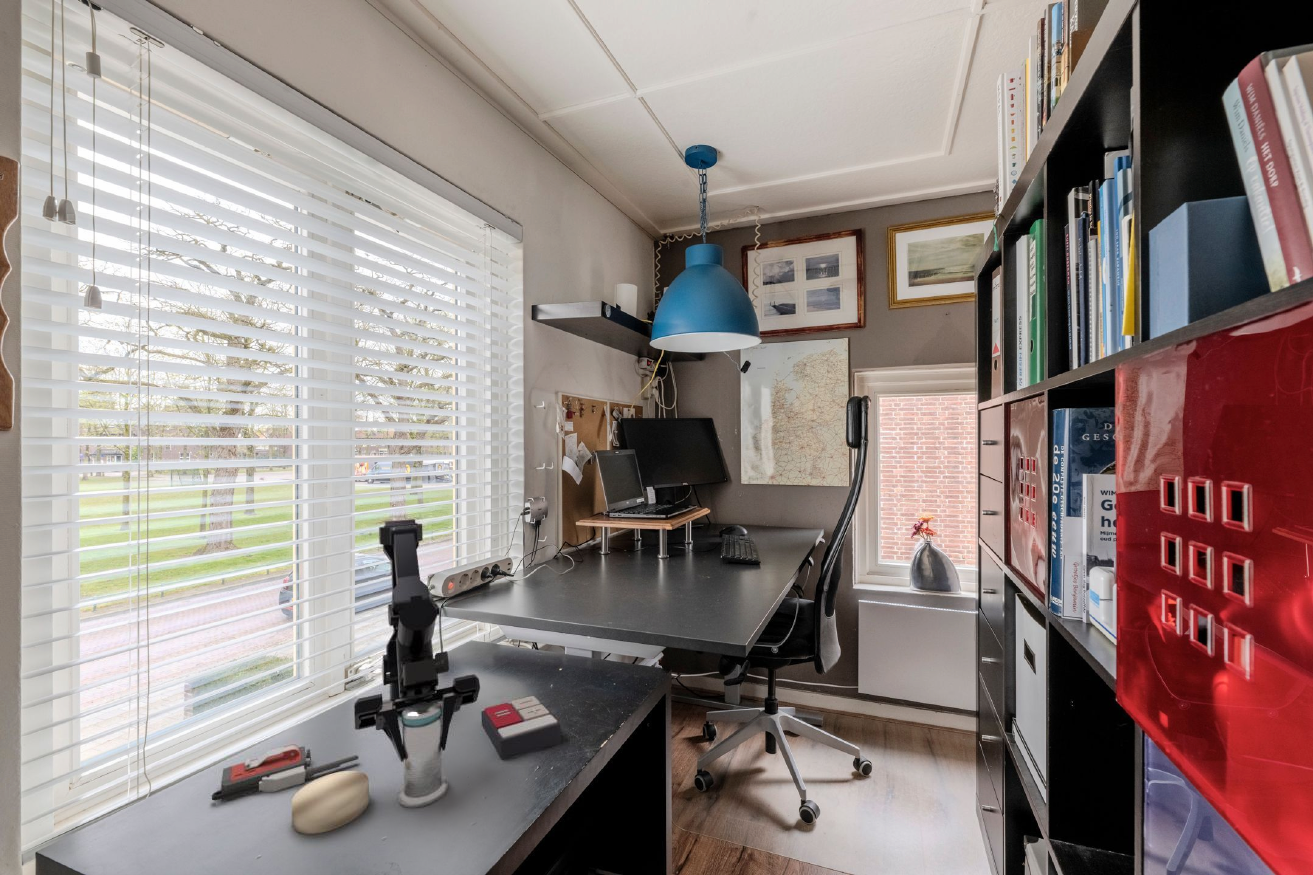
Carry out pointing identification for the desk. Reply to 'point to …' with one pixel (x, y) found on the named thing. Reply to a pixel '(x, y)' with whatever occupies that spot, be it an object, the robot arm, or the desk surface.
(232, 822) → the desk surface
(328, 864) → the desk surface
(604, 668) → the desk surface
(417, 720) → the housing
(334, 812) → the stand
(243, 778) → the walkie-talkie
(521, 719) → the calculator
